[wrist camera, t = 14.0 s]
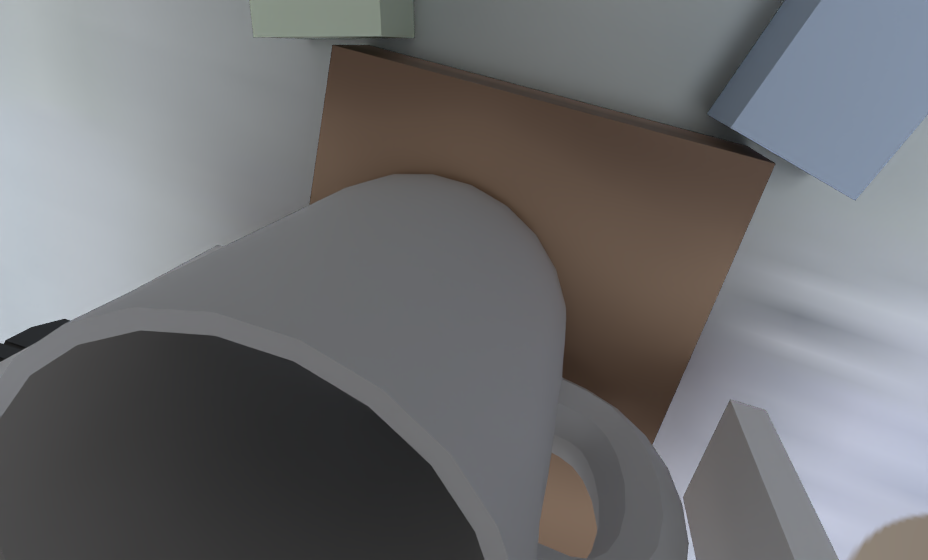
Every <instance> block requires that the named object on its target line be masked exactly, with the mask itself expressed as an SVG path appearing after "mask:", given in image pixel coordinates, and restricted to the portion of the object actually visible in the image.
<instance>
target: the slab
mask: <svg viewBox="0 0 928 560" xmlns="http://www.w3.org/2000/svg"><path fill="white" fill-rule="evenodd" d="M774 166H775V163H774V162H772V161H770V160H769V159H767V158H766V157H764V156H762V155H761V154H759V153H758V152H756V151H754V150H753V149H751V148H750V147H748V146H745V145H741V144H737V143H734V142H730V141H726V140H722V139H719V138H715V137H711V136H707V135H704V134H700V133H696V132H692V131H689V130H685V129H681V128H677V127H674V126H670V125H666V124H662V123H659V122H655V121H651V120H647V119H644V118H640V117H636V116H632V115H629V114H625V113H621V112H617V111H614V110H610V109H606V108H602V107H599V106H595V105H591V104H587V103H584V102H580V101H576V100H572V99H569V98H565V97H561V96H557V95H554V94H550V93H546V92H542V91H539V90H535V89H531V88H527V87H524V86H520V85H516V84H512V83H509V82H505V81H501V80H497V79H494V78H490V77H486V76H482V75H479V74H475V73H471V72H467V71H464V70H460V69H456V68H452V67H449V66H445V65H441V64H437V63H434V62H430V61H426V60H422V59H419V58H415V57H411V56H407V55H404V54H400V53H396V52H392V51H389V50H385V49H381V48H377V47H374V46H370V45H332V52H331V59H330V66H329V73H328V80H327V87H326V94H325V101H324V108H323V114H322V121H321V128H320V135H319V142H318V149H317V156H316V163H315V170H314V177H313V184H312V191H311V197H310V204H309V205H311V204H313V203H315V202H317V201H319V200H321V199H323V198H325V197H327V196H329V195H331V194H334V193H336V192H338V191H340V190H342V189H344V188H346V187H350V186H353V185H356V184H360V183H363V182H367V181H370V180H374V179H377V178H381V177H385V176H388V175H392V174H434V175H437V176H441V177H444V178H448V179H452V180H455V181H459V182H462V183H466V184H469V185H472V186H474V187H476V188H477V189H479V190H481V191H483V192H484V193H486V194H488V195H489V196H491V197H493V198H494V199H496V200H498V201H499V202H501V203H503V204H504V205H506V206H508V207H509V208H510V209H511V210H512V211H513V212H514V213H515V214H516V215H517V216H518V217H519V218H520V219H521V220H522V221H523V222H524V223H525V224H526V225H527V226H528V227H529V228H530V229H531V230H532V231H533V232H534V233H535V234H536V236H537V237H538V239H539V241H540V243H541V244H542V246H543V248H544V249H545V251H546V253H547V255H548V256H549V258H550V260H551V262H552V263H553V265H554V267H555V269H556V271H557V275H558V279H559V282H560V286H561V290H562V294H563V298H564V301H565V305H566V330H565V346H564V356H563V371H562V378H564V379H566V380H569V381H571V382H573V383H575V384H577V385H579V386H581V387H583V388H585V389H587V390H589V391H590V392H592V393H594V394H595V395H597V396H598V397H600V398H601V399H603V400H604V401H606V402H608V403H609V404H611V405H612V406H614V407H615V408H617V409H618V410H619V411H620V412H621V413H622V414H623V415H624V416H626V417H627V418H628V419H629V420H630V421H631V422H632V423H633V424H634V425H635V426H636V427H637V428H638V429H639V430H640V431H641V432H642V433H643V434H644V435H646V437H647V438H648V440H649V441H650V443H651V444H653V442H654V440H655V437H656V435H657V433H658V430H659V428H660V426H661V424H662V421H663V419H664V417H665V415H666V412H667V410H668V408H669V405H670V403H671V401H672V399H673V396H674V394H675V392H676V389H677V387H678V385H679V383H680V380H681V378H682V376H683V373H684V371H685V369H686V367H687V364H688V362H689V360H690V357H691V355H692V353H693V351H694V348H695V346H696V344H697V341H698V339H699V337H700V335H701V332H702V330H703V328H704V326H705V323H706V321H707V319H708V316H709V314H710V312H711V310H712V307H713V305H714V303H715V300H716V298H717V296H718V294H719V291H720V289H721V287H722V284H723V282H724V280H725V278H726V275H727V273H728V271H729V268H730V266H731V264H732V262H733V259H734V257H735V255H736V253H737V250H738V248H739V246H740V243H741V241H742V239H743V237H744V234H745V232H746V230H747V227H748V225H749V223H750V221H751V218H752V216H753V214H754V211H755V209H756V207H757V205H758V202H759V200H760V198H761V195H762V193H763V191H764V189H765V186H766V184H767V182H768V179H769V177H770V175H771V173H772V170H773V168H774ZM596 534H597V524H596V519H595V514H594V510H593V505H592V500H591V498H590V495H589V493H588V491H587V489H586V486H585V484H584V482H583V480H582V479H581V477H580V476H579V475H578V473H577V472H576V471H575V469H574V468H573V467H572V466H571V465H570V464H568V463H567V462H566V461H564V460H563V459H562V458H560V457H559V456H557V455H555V454H553V453H551V459H550V466H549V473H548V479H547V484H546V490H545V495H544V501H543V506H542V512H541V517H540V524H539V538H538V543H540V544H542V545H544V546H547V547H549V548H551V549H554V550H556V551H559V552H561V553H563V554H566V555H568V556H570V557H578V558H586V559H587V557H588V556H589V554H590V553H591V551H592V548H593V544H594V541H595V537H596Z"/></svg>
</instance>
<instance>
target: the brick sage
mask: <svg viewBox="0 0 928 560" xmlns="http://www.w3.org/2000/svg"><path fill="white" fill-rule="evenodd" d="M249 2H250V11H251V20H252V28H253V37H264V38H297V39H348V38H415V32H414V0H249Z"/></svg>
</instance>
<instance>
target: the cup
mask: <svg viewBox="0 0 928 560" xmlns="http://www.w3.org/2000/svg"><path fill="white" fill-rule="evenodd" d="M565 330H566V305H565V301H564V298H563V294H562V290H561V286H560V282H559V279H558V275H557V271H556V269H555V267H554V265H553V263H552V262H551V260H550V258H549V256H548V255H547V253H546V251H545V249H544V248H543V246H542V244H541V243H540V241H539V239H538V237H537V236H536V234H535V233H534V232H533V231H532V230H531V229H530V228H529V227H528V226H527V225H526V224H525V223H524V222H523V221H522V220H521V219H520V218H519V217H518V216H517V215H516V214H515V213H514V212H513V211H512V210H511V209H510V208H509V207H508V206H506V205H504V204H503V203H501V202H499V201H498V200H496V199H494V198H493V197H491V196H489V195H488V194H486V193H484V192H483V191H481V190H479V189H477V188H476V187H474V186H472V185H469V184H466V183H462V182H459V181H455V180H452V179H448V178H444V177H441V176H437V175H434V174H392V175H388V176H385V177H381V178H377V179H374V180H370V181H367V182H363V183H360V184H356V185H353V186H350V187H346V188H344V189H342V190H340V191H338V192H336V193H334V194H331V195H329V196H327V197H325V198H323V199H321V200H319V201H317V202H315V203H313V204H311V205H309V206H307V207H305V208H303V209H300V210H298V211H296V212H294V213H292V214H290V215H288V216H286V217H284V218H282V219H280V220H278V221H276V222H274V223H272V224H270V225H267V226H265V227H263V228H261V229H259V230H257V231H255V232H253V233H251V234H249V235H247V236H245V237H243V238H241V239H239V240H236V241H234V242H232V243H230V244H228V245H226V246H224V247H222V248H220V249H218V250H216V251H214V252H212V253H210V254H208V255H206V256H203V257H201V258H199V259H197V260H195V261H193V262H191V263H189V264H187V265H185V266H183V267H181V268H179V269H177V270H175V271H172V272H170V273H168V274H166V275H164V276H162V277H160V278H158V279H156V280H154V281H152V282H150V283H148V284H146V285H144V286H142V287H139V288H137V289H135V290H133V291H131V292H129V293H127V294H125V295H123V296H121V297H119V298H117V299H115V300H113V301H111V302H109V303H106V304H104V305H102V306H100V307H98V308H96V309H94V310H92V311H90V312H88V313H86V314H84V315H82V316H80V317H78V318H75V319H73V320H71V321H69V322H67V323H65V324H63V325H62V326H60V327H59V328H57V329H56V330H54V331H53V332H51V333H50V334H48V335H47V336H45V337H44V338H43V339H41V340H40V341H38V342H37V343H35V344H34V345H32V346H31V347H29V348H28V349H26V350H25V351H23V352H22V353H20V354H19V355H17V356H16V357H14V358H13V359H12V361H11V362H10V364H9V365H8V367H7V368H6V370H5V371H4V373H3V374H2V376H1V377H0V560H687V554H688V544H689V543H688V537H687V531H686V525H685V519H684V513H683V507H682V503H681V500H680V498H679V495H678V493H677V490H676V488H675V485H674V483H673V480H672V478H671V475H670V473H669V470H668V468H667V466H666V465H665V463H664V462H663V460H662V459H661V458H660V456H659V455H658V453H657V452H656V450H655V449H654V447H653V446H652V444H651V443H650V441H649V440H648V438H647V437H646V435H644V434H643V433H642V432H641V431H640V430H639V429H638V428H637V427H636V426H635V425H634V424H633V423H632V422H631V421H630V420H629V419H628V418H627V417H626V416H624V415H623V414H622V413H621V412H620V411H619V410H618V409H617V408H615V407H614V406H612V405H611V404H609V403H608V402H606V401H604V400H603V399H601V398H600V397H598V396H597V395H595V394H594V393H592V392H590V391H589V390H587V389H585V388H583V387H581V386H579V385H577V384H575V383H573V382H571V381H569V380H566V379H564V378H562V371H563V356H564V346H565ZM551 453H553V454H555V455H557V456H559V457H560V458H562V459H563V460H564V461H566V462H567V463H568V464H570V465H571V466H572V467H573V468H574V469H575V471H576V472H577V473H578V475H579V476H580V477H581V479H582V480H583V482H584V484H585V486H586V489H587V491H588V493H589V495H590V498H591V500H592V505H593V510H594V514H595V519H596V524H597V534H596V537H595V541H594V544H593V548H592V551H591V553H590V554H589V556H588V557H587V559H586V558H578V557H570V556H568V555H566V554H563V553H561V552H559V551H556V550H554V549H551V548H549V547H547V546H544V545H542V544H540V543H538V538H539V524H540V517H541V512H542V506H543V501H544V495H545V490H546V484H547V479H548V473H549V466H550V459H551Z"/></svg>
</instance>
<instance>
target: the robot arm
mask: <svg viewBox="0 0 928 560" xmlns="http://www.w3.org/2000/svg"><path fill="white" fill-rule="evenodd" d="M222 247H224V246H221V245H217V246H215V247H213V248H211V249H209V250H208V251H206V252H204V253H202V254H200V255H198V256H196V257H195V258H193V259H191V260H189V261H187V262H185V263H183V264H182V265H180V266H178V267H176V268H174V269H172V270H170V271H169V272H167V273H165V274H163V275H161V276H159V277H157V278H155V279H154V280H156V279H158V278H160V277H162V276H164V275H166V274H168V273H170V272H172V271H175V270H177V269H179V268H181V267H183V266H185V265H187V264H189V263H191V262H193V261H195V260H197V259H199V258H201V257H203V256H206V255H208V254H210V253H212V252H214V251H216V250H218V249H220V248H222ZM154 280H152V281H154ZM152 281H150V282H152ZM150 282H148V283H150ZM148 283H146V284H148ZM146 284H144V285H146ZM144 285H142V286H144ZM142 286H141V287H142ZM69 321H70V320H66V319H62V320H58V321H54V322H50V323H46V324H42V325H38V326H34V327H31V328H29V329H27V330H25V331H23V332H21V333H19V334H17V335H15V336H13V337H11V338H9V339H7V340H5V343H4V344H1V343H0V377H1V376H2V374H3V373H4V371H5V370H6V368H7V367H8V365H9V364H10V362H11V361H12V359H13V358H14V357H16V356H17V355H19V354H20V353H22V352H23V351H25V350H26V349H28V348H29V347H31V346H32V345H34V344H35V343H37V342H38V341H40V340H41V339H43V338H44V337H45V336H47V335H48V334H50V333H51V332H53V331H54V330H56V329H57V328H59V327H60V326H62V325H63V324H65V323H67V322H69ZM683 499H684V504H685V509H686V513H687V518H688V523H689V528H690V532H691V537H692V542H693V547H694V551H695V556H696V560H839V559H838V557H837V555H836V553H835V551H834V549H833V547H832V545H831V542H830V540H829V538H828V536H827V534H826V532H825V530H824V528H823V526H822V524H821V522H820V520H819V518H818V516H817V514H816V512H815V510H814V508H813V506H812V504H811V502H810V499H809V497H808V495H807V493H806V491H805V489H804V487H803V485H802V483H801V481H800V479H799V477H798V475H797V473H796V471H795V469H794V467H793V465H792V463H791V461H790V459H789V456H788V454H787V452H786V450H785V448H784V446H783V444H782V442H781V440H780V438H779V436H778V434H777V432H776V430H775V428H774V426H773V424H772V422H771V420H770V418H769V416H768V413H767V411H766V410H764V409H761V408H757V407H754V406H751V405H747V404H744V403H741V402H737V401H734V400H731V399H730V401H729V403H728V405H727V407H726V409H725V411H724V413H723V415H722V417H721V420H720V422H719V424H718V426H717V428H716V430H715V432H714V434H713V436H712V438H711V440H710V442H709V444H708V447H707V449H706V451H705V453H704V455H703V457H702V459H701V461H700V463H699V465H698V467H697V469H696V471H695V473H694V476H693V478H692V480H691V482H690V484H689V486H688V488H687V490H686V492H685V494H684V496H683Z"/></svg>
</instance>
